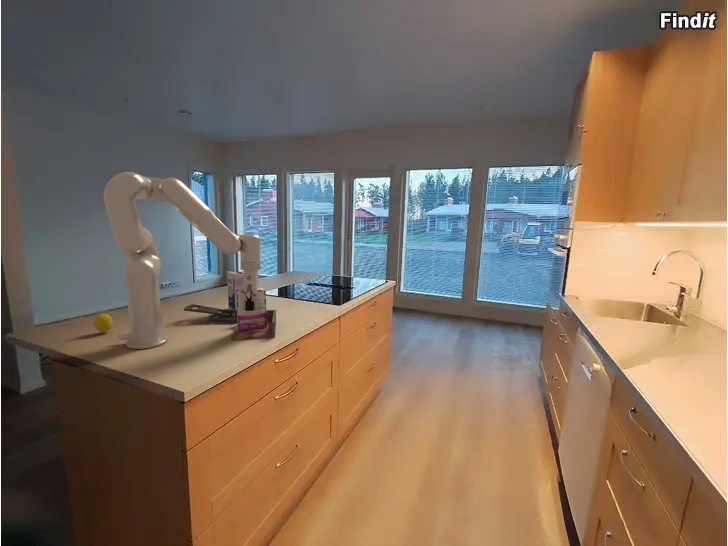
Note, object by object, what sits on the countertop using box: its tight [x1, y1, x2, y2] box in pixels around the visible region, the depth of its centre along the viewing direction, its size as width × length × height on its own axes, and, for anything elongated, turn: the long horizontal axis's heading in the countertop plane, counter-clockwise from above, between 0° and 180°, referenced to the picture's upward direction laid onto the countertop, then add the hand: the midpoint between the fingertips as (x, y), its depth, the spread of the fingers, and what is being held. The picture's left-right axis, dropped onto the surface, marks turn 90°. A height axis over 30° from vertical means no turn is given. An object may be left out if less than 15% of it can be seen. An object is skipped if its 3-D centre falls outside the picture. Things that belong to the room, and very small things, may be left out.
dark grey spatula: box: [183, 303, 237, 325], centre depth 146 cm, size 9×7×25 cm
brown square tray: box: [230, 309, 277, 341], centre depth 133 cm, size 16×18×6 cm
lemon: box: [94, 313, 114, 334], centre depth 127 cm, size 6×6×8 cm
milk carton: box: [226, 270, 244, 309], centre depth 160 cm, size 7×7×20 cm
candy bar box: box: [236, 287, 267, 332], centre depth 132 cm, size 11×5×16 cm, turn 116°
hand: (250, 307), depth 131 cm, fingers open, 9 cm apart
